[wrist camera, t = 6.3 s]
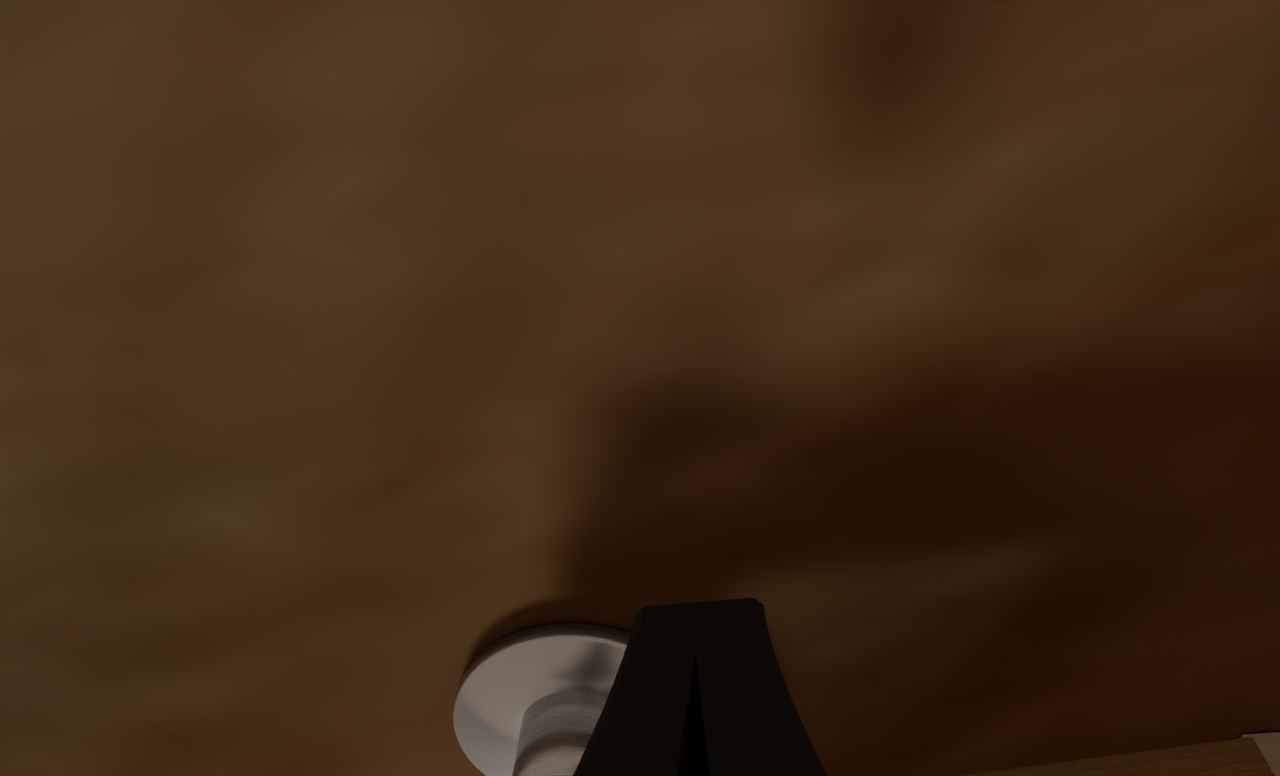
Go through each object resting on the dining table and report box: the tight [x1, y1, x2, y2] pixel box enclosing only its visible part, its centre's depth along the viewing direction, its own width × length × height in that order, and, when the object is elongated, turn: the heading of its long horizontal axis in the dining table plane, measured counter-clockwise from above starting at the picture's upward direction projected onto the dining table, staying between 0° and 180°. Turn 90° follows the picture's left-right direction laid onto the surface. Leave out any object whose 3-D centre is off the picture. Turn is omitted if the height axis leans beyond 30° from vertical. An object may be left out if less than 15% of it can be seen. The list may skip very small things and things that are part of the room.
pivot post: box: [453, 623, 630, 776], centre depth 17 cm, size 4×4×2 cm
